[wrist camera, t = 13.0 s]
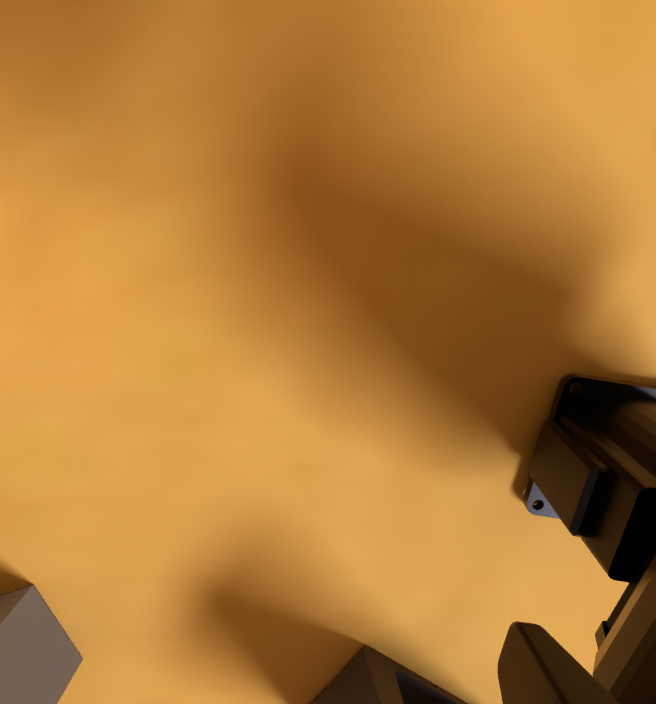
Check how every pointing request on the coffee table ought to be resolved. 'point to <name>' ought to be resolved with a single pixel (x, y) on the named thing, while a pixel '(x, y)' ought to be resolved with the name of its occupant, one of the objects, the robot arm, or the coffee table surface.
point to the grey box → (33, 650)
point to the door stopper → (382, 684)
